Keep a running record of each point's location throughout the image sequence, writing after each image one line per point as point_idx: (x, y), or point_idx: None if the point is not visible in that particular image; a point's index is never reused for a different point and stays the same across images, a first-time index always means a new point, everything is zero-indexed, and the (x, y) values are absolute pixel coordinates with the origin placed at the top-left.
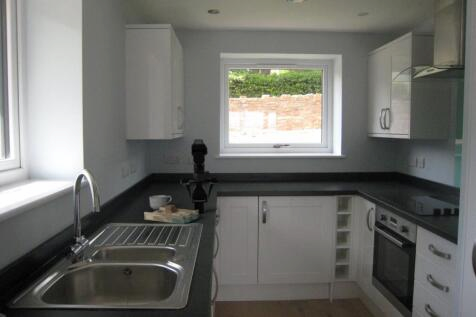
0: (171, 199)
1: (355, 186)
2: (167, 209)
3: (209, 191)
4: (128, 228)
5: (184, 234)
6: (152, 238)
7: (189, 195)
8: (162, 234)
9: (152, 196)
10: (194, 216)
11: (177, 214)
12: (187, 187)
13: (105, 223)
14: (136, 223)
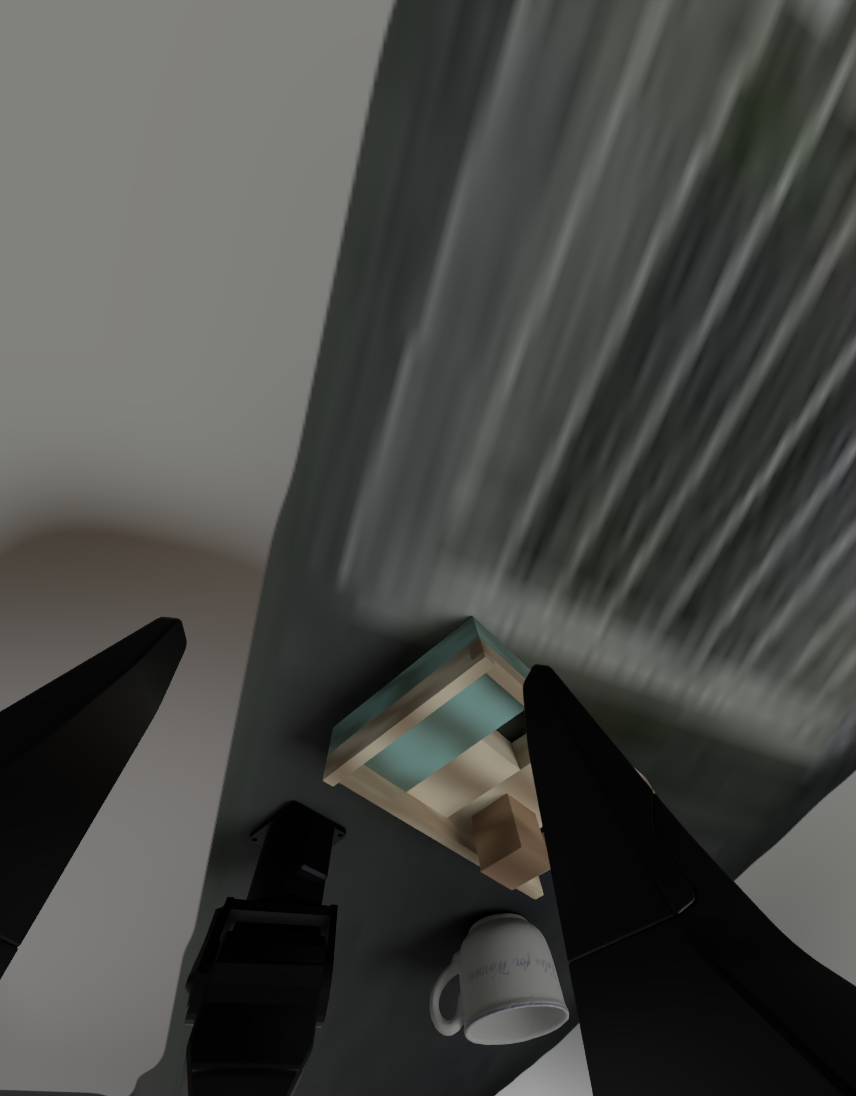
0: (431, 997)
1: None
2: (532, 833)
3: (23, 734)
4: (813, 634)
5: (575, 317)
6: (838, 312)
7: (582, 707)
8: (719, 400)
9: (537, 1034)
10: (370, 714)
11: (476, 767)
12: (782, 954)
13: (846, 759)
14: (720, 717)
